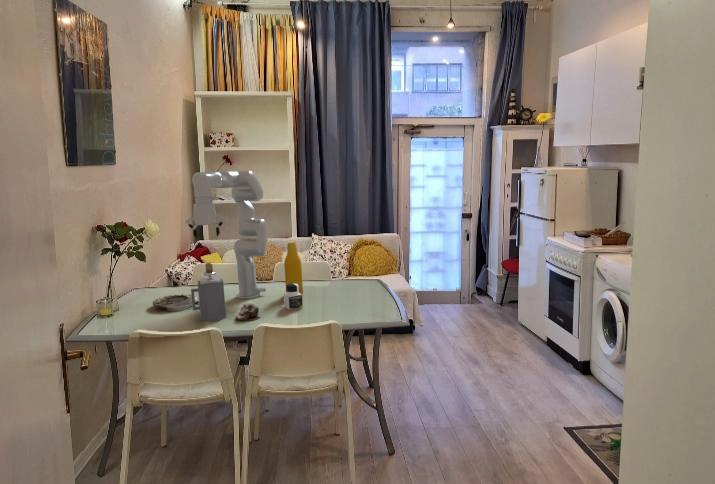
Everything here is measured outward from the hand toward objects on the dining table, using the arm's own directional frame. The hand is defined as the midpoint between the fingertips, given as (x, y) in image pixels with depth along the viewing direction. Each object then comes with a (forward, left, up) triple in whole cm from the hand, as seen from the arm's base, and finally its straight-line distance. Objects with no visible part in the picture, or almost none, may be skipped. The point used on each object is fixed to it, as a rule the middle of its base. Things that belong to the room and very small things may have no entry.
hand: (207, 236), depth 257 cm
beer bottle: (-44, -25, -39) cm, 64 cm away
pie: (+19, -30, -40) cm, 53 cm away
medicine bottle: (-39, -1, -39) cm, 55 cm away
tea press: (+2, 0, -39) cm, 39 cm away
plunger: (0, 0, -36) cm, 36 cm away
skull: (-16, +7, -40) cm, 43 cm away
